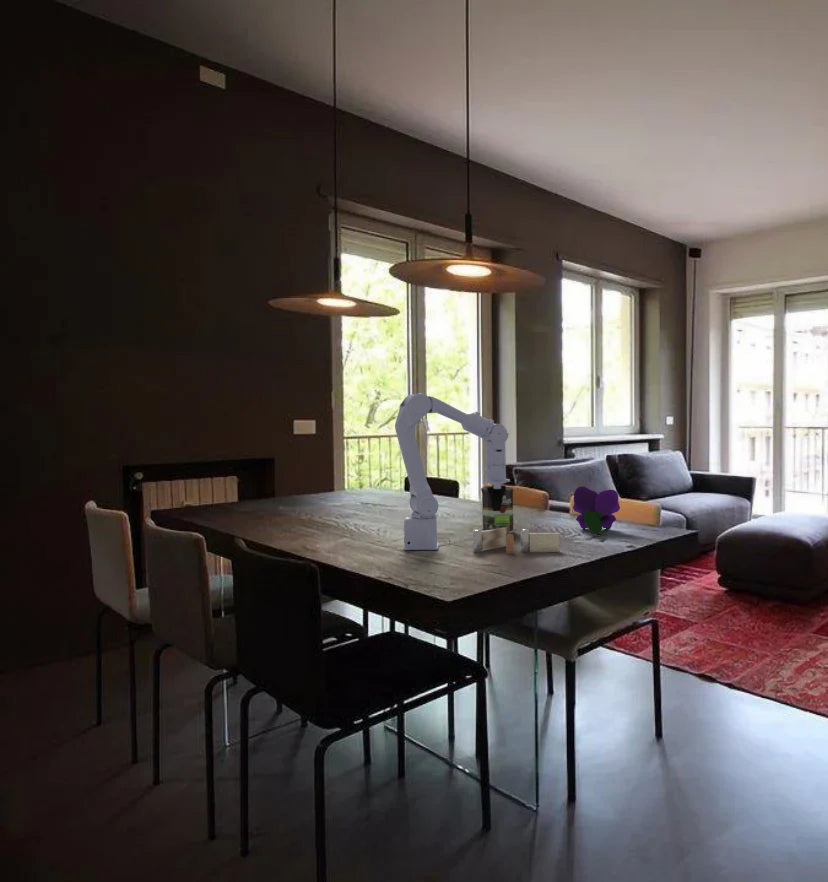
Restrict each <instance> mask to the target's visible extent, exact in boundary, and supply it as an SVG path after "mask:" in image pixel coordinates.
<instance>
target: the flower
mask: <svg viewBox="0 0 828 882" xmlns="http://www.w3.org/2000/svg"><path fill="white" fill-rule="evenodd" d="M572 509H573V511H574V512H576V513H579V514H578V515H577V516H576V518H575V519H576V520H575V521H577V522H578V524H579V526H580V529H581V528H587V529H588V530H589V531H590V532H591V533H592V534H595V535H596V536H597V535H600V536H602V535H603V534H604V533H606V532H607V531H609V529H610V530H611V529H612V526H613V523H614V522H615V521H617V518H616V516H615V515H614V514H615V513H618V512H619V511H620V509H621V507H620V503H619V494H618V492H617V490H614V489H607V490H602V491H600V492H596V491H595V490H592V489H589V488H588V487H586V486H584V485H583V486H578V487H577V488H576V489H575V491H574V493H573V506H572ZM604 528H606V529H604Z"/></svg>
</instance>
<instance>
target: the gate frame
mask: <svg viewBox="0 0 828 882" xmlns="http://www.w3.org/2000/svg"><path fill="white" fill-rule="evenodd" d="M481 531H482V529H472V552H473V553H474V552H481V553H482V552H483V550H482V533H481ZM519 532H520V534H519V535H520V537H519V538H520V540H519V541H520V552H521V553H524V552H527V553H560V533H559V532H530V529H528V528H527V529H526V528H521V529H520V530H519ZM514 536H515V535H514V533H510V534H506V546H505V551H506V553H505V554H515V548H514V547H515V542H514V540H515V538H514Z"/></svg>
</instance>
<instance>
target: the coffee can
mask: <svg viewBox="0 0 828 882" xmlns="http://www.w3.org/2000/svg"><path fill="white" fill-rule="evenodd" d="M486 487H487V486H486ZM486 487H482V488H480V491H481V531H485V530H492V529H498V528H503V527H508V528H510V534H514V488H513V487H509V486H506V491H505V493H504V495H503V499H502V505H501V510H500V511H493V508H492V504H491V498H490V494H489V492H488V490H487V488H486Z"/></svg>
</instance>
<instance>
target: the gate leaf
mask: <svg viewBox="0 0 828 882" xmlns="http://www.w3.org/2000/svg"><path fill="white" fill-rule="evenodd" d="M481 533H482V551H484V550H491V549H495V548H500V547H506V534H511V533H510V528H508V527H503V528H498V529H492V530H485V531H482V530H481Z"/></svg>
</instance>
